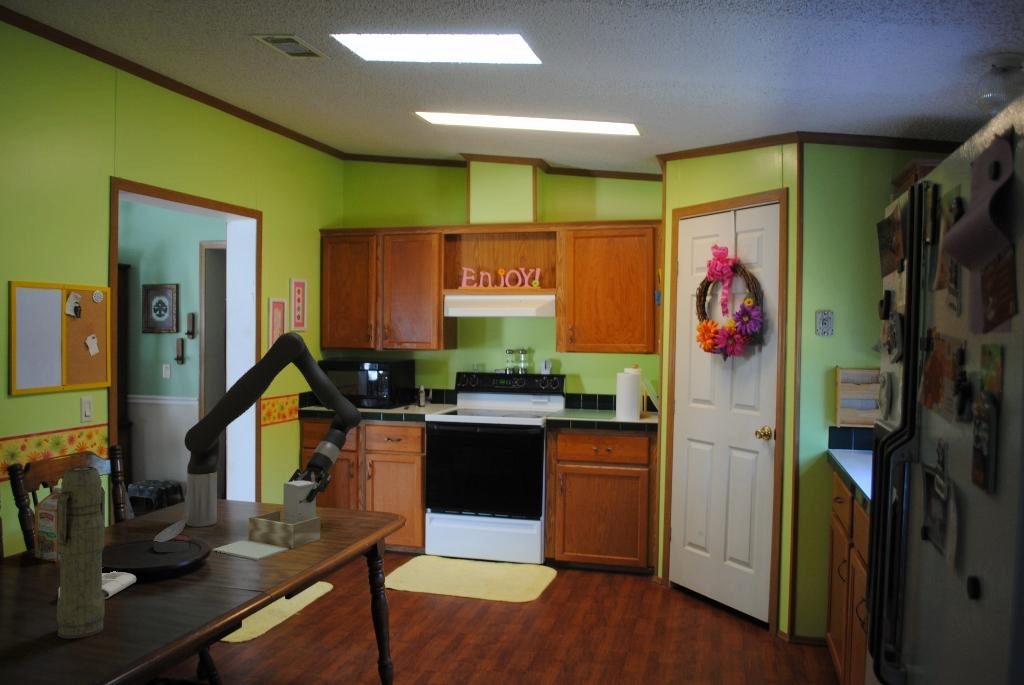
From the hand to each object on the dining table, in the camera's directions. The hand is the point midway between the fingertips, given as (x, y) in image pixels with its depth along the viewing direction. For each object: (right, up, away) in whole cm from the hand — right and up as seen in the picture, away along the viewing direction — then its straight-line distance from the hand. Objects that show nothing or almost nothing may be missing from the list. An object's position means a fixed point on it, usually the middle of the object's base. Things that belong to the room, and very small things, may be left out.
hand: (298, 499), depth 242 cm
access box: (-3, -12, -4) cm, 13 cm away
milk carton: (-60, -11, -23) cm, 66 cm away
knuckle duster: (-36, -12, -52) cm, 65 cm away
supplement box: (0, -7, +1) cm, 8 cm away
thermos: (-25, -12, -77) cm, 82 cm away
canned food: (-33, -12, -15) cm, 38 cm away
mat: (-9, -12, -17) cm, 22 cm away
